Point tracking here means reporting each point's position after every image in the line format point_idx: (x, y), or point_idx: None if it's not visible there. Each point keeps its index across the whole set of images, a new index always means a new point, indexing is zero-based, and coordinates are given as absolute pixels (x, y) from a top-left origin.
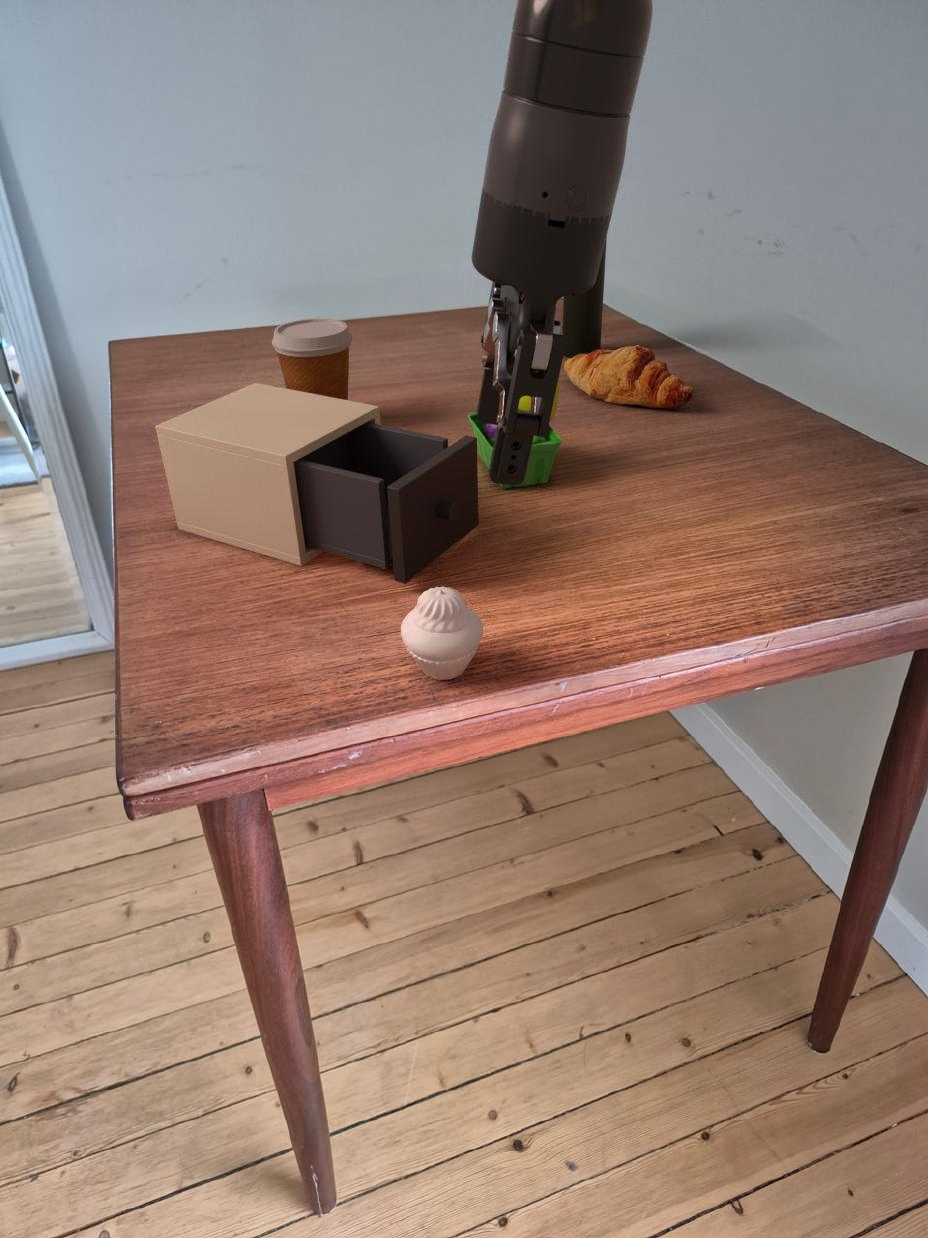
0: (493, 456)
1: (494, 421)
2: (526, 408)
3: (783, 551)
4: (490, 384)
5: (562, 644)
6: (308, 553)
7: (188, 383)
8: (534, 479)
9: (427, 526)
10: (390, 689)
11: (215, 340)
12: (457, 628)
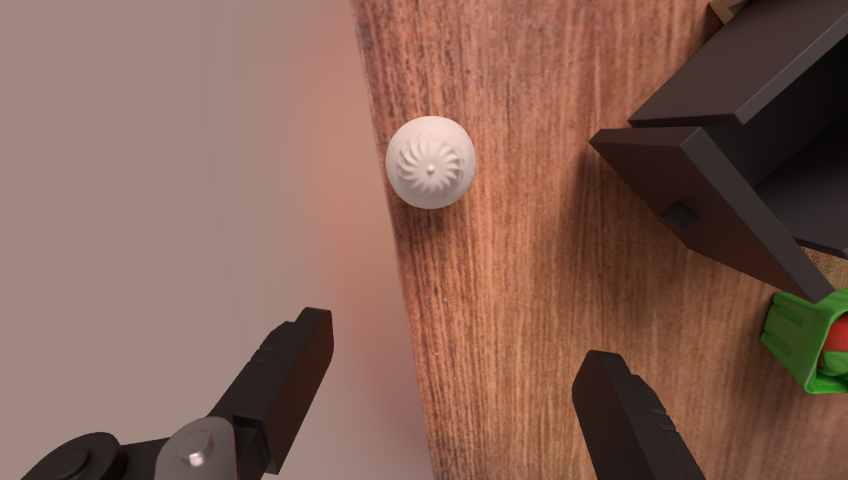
0: (284, 344)
1: (580, 377)
2: None
3: (529, 468)
4: (631, 459)
5: (443, 273)
6: (727, 12)
7: None
8: (769, 331)
9: (654, 184)
10: (407, 100)
11: None
12: (399, 179)
